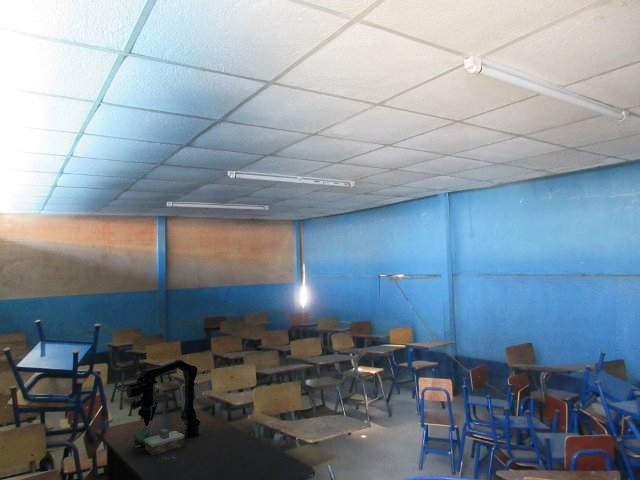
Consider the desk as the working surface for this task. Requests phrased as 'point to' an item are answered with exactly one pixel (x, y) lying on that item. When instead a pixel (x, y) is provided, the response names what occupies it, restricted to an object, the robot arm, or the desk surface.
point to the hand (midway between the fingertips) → (149, 423)
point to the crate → (164, 447)
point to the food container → (141, 435)
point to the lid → (163, 437)
